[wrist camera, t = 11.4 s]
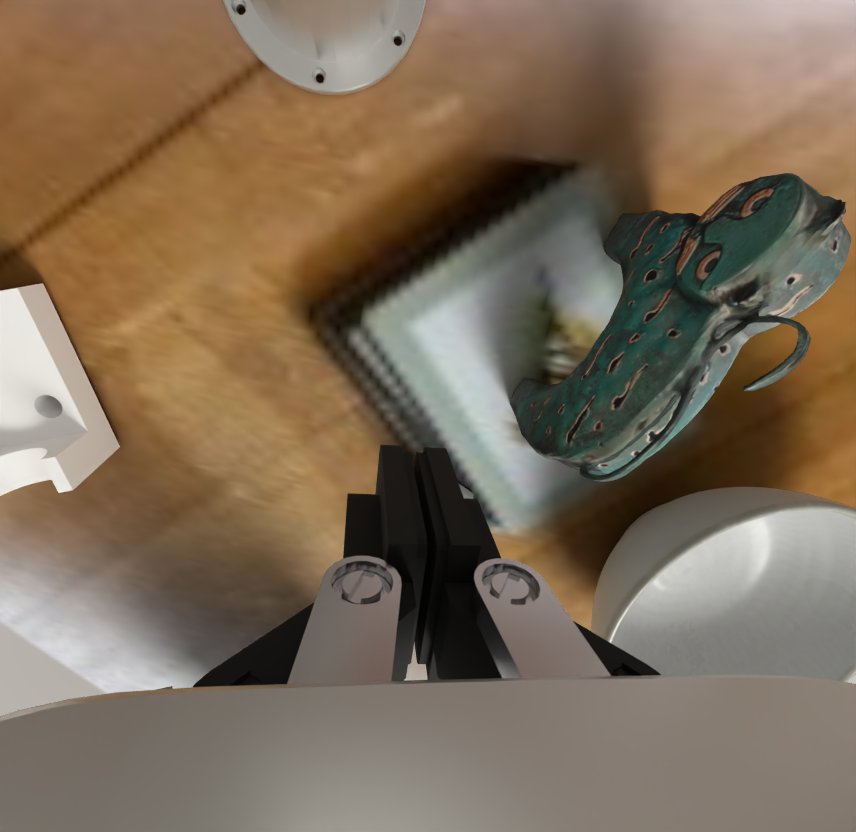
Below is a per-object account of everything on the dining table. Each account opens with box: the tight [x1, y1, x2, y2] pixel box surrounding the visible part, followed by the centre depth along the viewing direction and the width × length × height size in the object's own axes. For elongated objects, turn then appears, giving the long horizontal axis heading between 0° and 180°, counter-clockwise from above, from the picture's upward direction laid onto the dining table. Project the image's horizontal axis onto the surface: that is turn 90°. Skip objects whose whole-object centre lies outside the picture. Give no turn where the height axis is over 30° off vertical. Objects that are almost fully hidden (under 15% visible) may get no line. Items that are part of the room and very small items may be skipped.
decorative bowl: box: [591, 487, 856, 682], centre depth 45 cm, size 27×27×12 cm
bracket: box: [0, 283, 120, 496], centre depth 32 cm, size 13×7×8 cm, turn 9°
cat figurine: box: [510, 173, 851, 482], centre depth 30 cm, size 20×6×20 cm, turn 151°
